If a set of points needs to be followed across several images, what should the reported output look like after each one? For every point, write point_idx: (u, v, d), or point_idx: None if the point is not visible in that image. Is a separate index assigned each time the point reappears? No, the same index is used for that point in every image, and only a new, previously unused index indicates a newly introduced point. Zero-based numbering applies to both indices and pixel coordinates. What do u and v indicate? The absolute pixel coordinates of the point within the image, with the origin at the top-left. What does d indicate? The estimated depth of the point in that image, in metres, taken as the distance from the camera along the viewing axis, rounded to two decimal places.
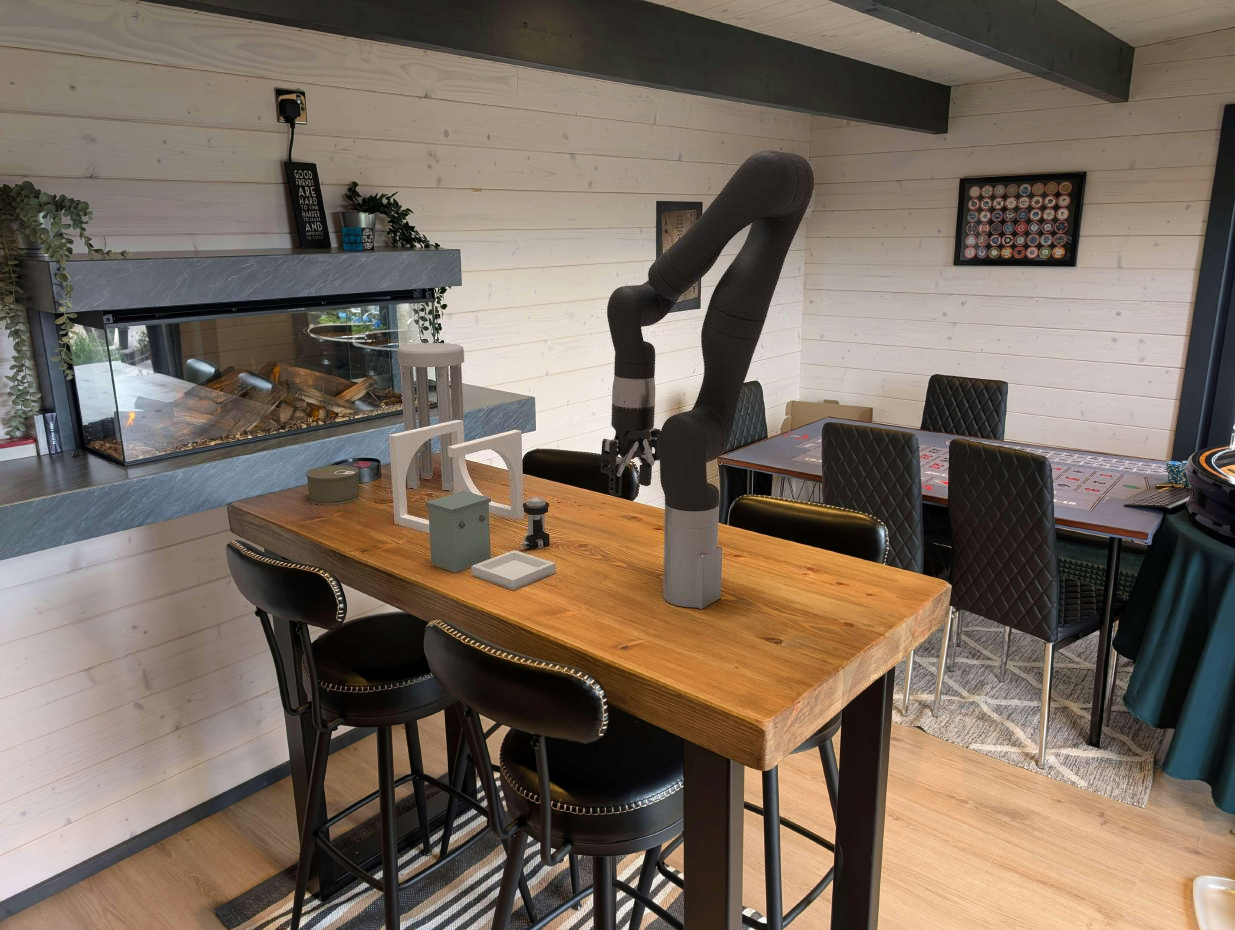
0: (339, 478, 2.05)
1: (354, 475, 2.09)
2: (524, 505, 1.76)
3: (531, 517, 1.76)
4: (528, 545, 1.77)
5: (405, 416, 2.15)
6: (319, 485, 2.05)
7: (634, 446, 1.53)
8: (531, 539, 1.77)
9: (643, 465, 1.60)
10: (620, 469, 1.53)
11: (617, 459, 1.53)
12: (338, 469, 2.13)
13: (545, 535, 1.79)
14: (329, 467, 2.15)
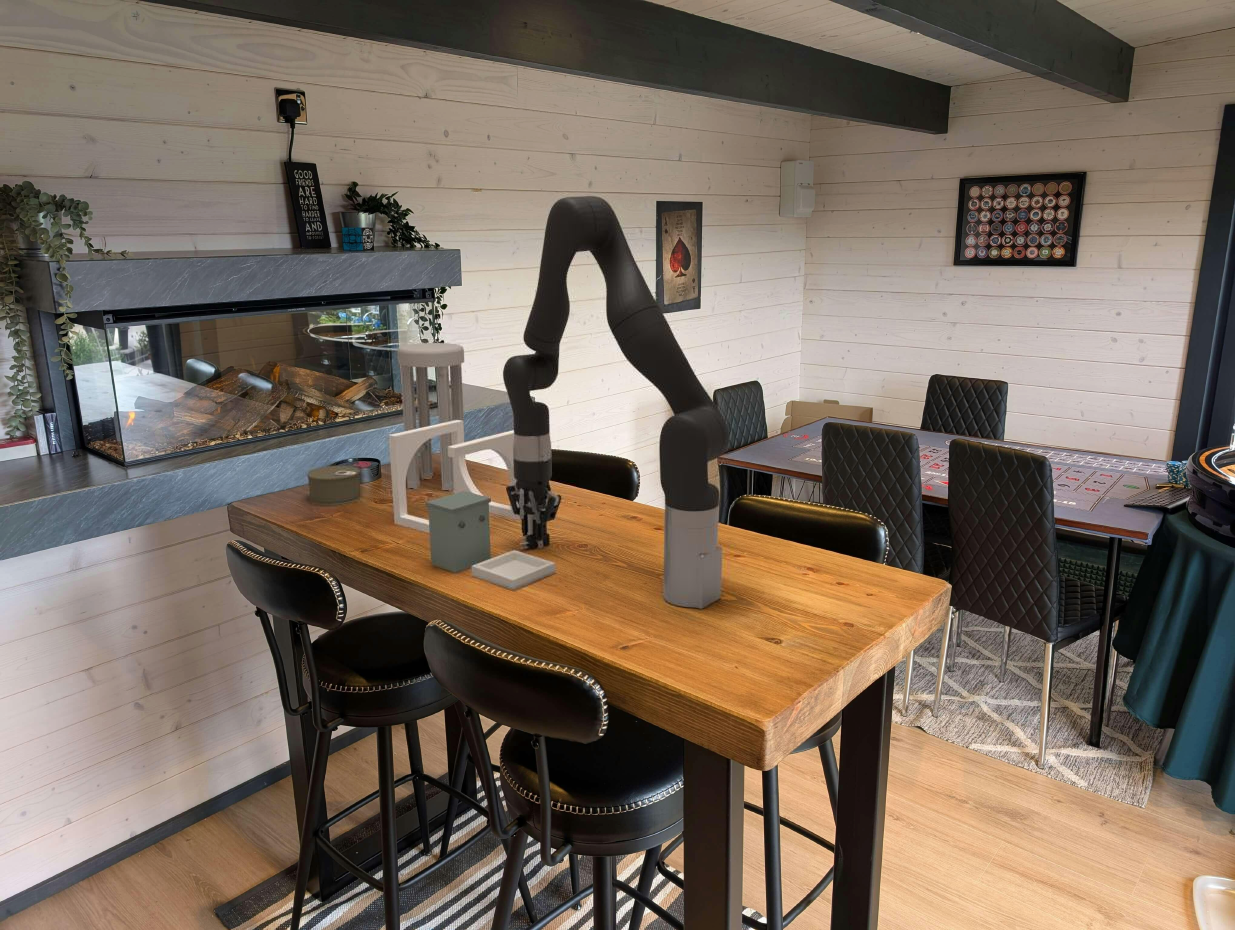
0: (340, 478, 2.05)
1: (355, 476, 2.08)
2: None
3: (531, 517, 1.76)
4: (528, 545, 1.77)
5: (405, 416, 2.15)
6: (321, 486, 2.05)
7: (520, 493, 1.76)
8: (531, 539, 1.77)
9: None
10: (521, 513, 1.78)
11: None
12: (339, 469, 2.13)
13: None
14: (330, 467, 2.14)
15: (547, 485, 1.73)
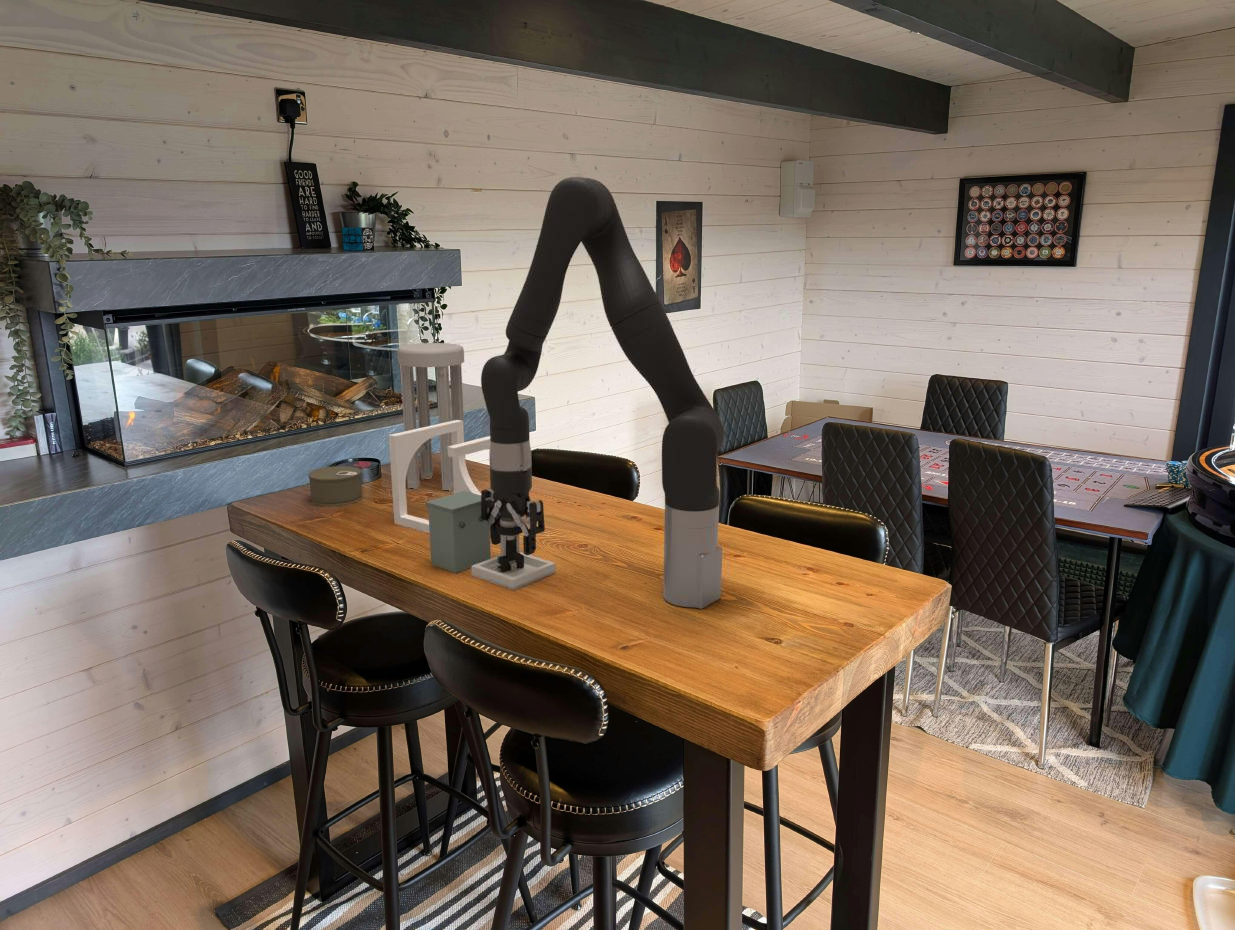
0: (342, 479, 2.04)
1: (356, 476, 2.08)
2: (497, 524, 1.63)
3: (504, 537, 1.63)
4: (500, 567, 1.64)
5: (405, 416, 2.15)
6: (322, 486, 2.04)
7: (497, 504, 1.61)
8: (503, 561, 1.63)
9: None
10: (490, 519, 1.64)
11: None
12: (340, 470, 2.13)
13: (519, 557, 1.65)
14: (331, 468, 2.14)
15: (526, 497, 1.59)
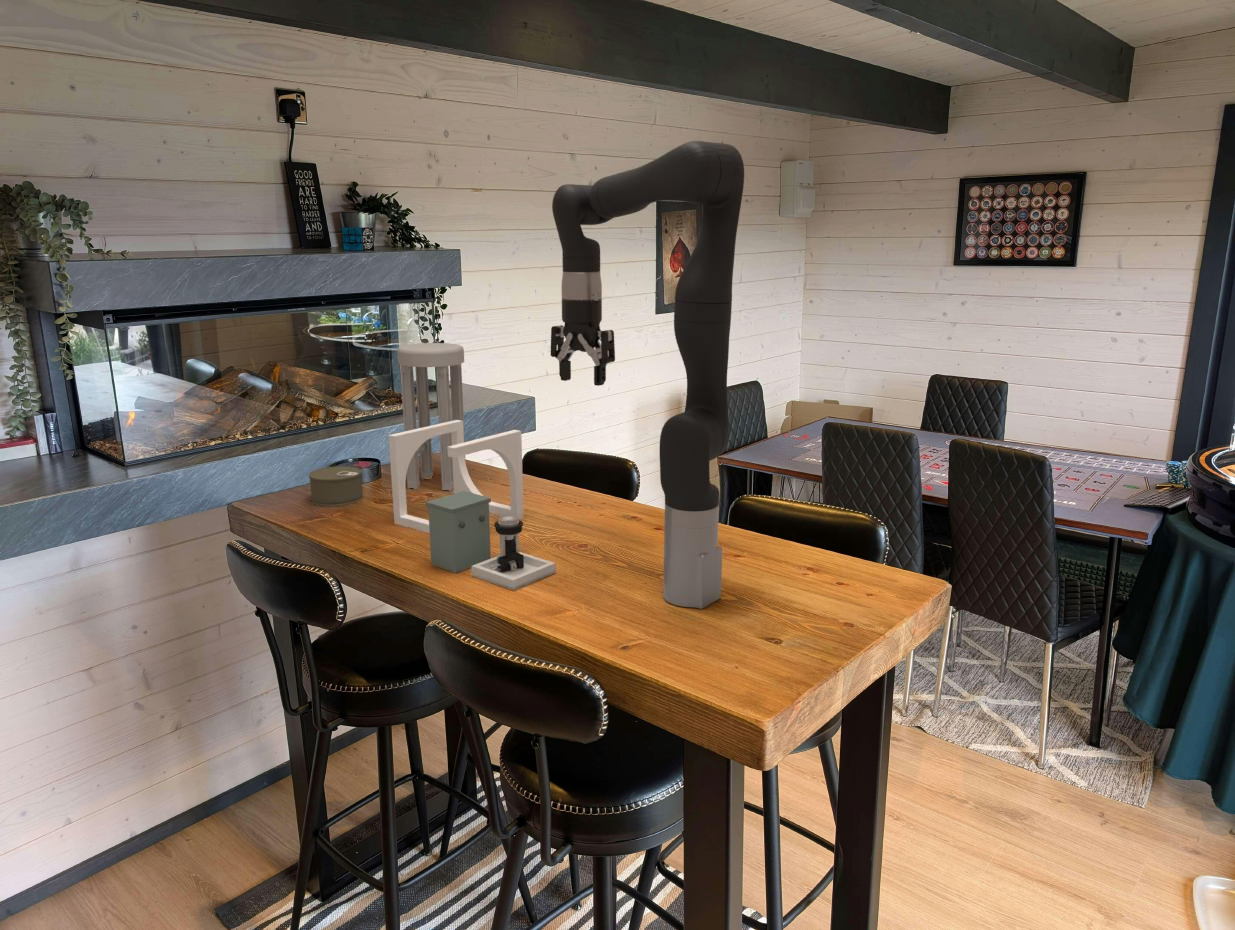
0: (342, 479, 2.04)
1: (357, 476, 2.08)
2: (496, 524, 1.63)
3: (503, 537, 1.63)
4: (500, 567, 1.64)
5: (405, 416, 2.15)
6: (322, 487, 2.04)
7: (568, 337, 1.66)
8: (503, 561, 1.63)
9: None
10: (560, 355, 1.69)
11: None
12: (341, 470, 2.12)
13: (519, 556, 1.65)
14: (332, 468, 2.14)
15: (597, 328, 1.64)
